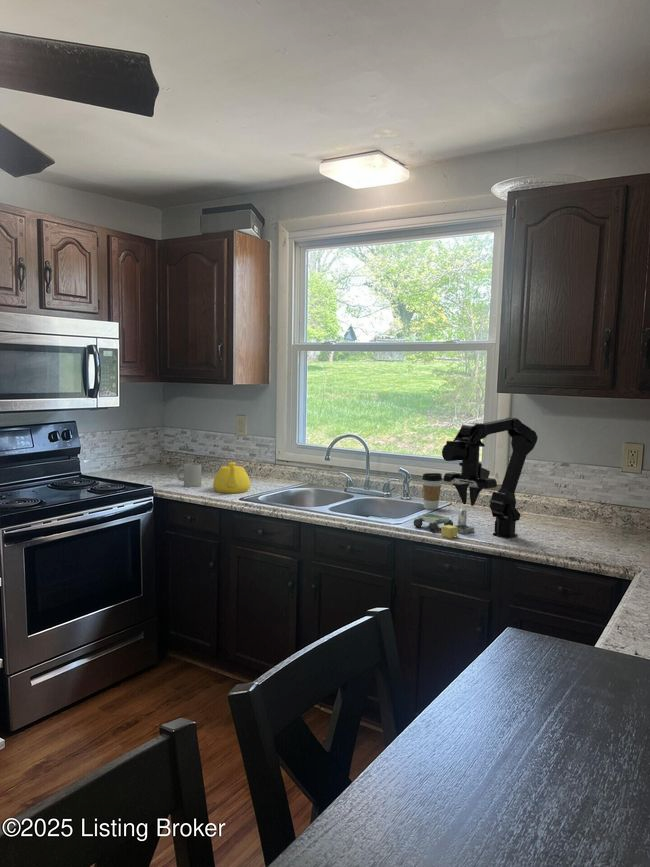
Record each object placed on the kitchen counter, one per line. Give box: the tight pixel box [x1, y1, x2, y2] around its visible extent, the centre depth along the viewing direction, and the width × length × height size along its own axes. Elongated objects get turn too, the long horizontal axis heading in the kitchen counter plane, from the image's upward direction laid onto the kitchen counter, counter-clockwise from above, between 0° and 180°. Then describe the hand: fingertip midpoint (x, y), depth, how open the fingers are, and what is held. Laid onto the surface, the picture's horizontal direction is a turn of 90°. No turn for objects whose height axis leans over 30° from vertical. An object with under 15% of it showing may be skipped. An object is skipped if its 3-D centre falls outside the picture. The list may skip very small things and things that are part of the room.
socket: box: [453, 524, 475, 535], centre depth 232 cm, size 6×6×2 cm
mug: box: [176, 462, 202, 488], centre depth 314 cm, size 12×8×11 cm
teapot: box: [212, 461, 251, 494], centre depth 303 cm, size 25×18×14 cm
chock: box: [440, 525, 458, 539], centre depth 224 cm, size 4×4×4 cm
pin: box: [457, 508, 468, 529], centre depth 232 cm, size 3×3×8 cm
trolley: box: [413, 513, 454, 533], centre depth 236 cm, size 11×10×4 cm
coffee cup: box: [421, 472, 443, 510], centre depth 272 cm, size 8×8×15 cm
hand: (468, 504), depth 217 cm, fingers open, 3 cm apart
